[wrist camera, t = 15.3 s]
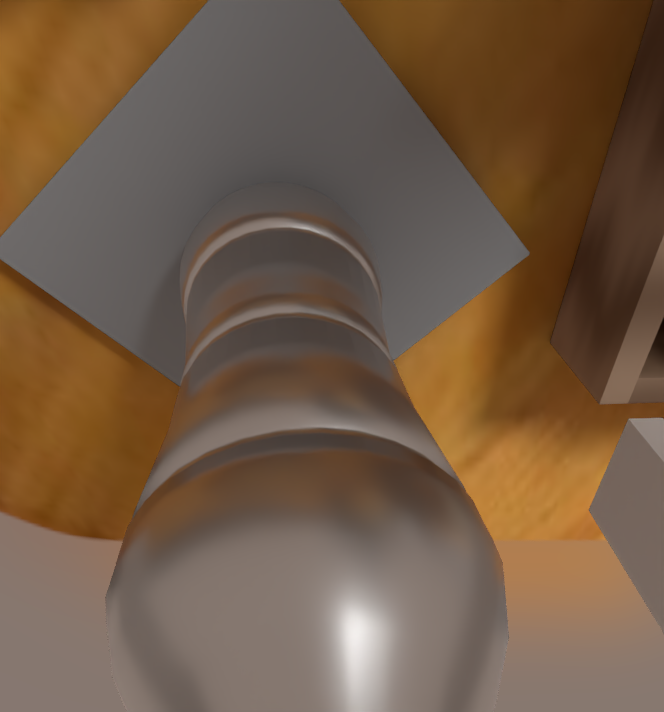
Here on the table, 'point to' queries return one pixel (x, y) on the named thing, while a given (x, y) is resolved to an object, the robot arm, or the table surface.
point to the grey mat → (258, 176)
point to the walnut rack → (624, 249)
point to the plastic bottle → (299, 496)
